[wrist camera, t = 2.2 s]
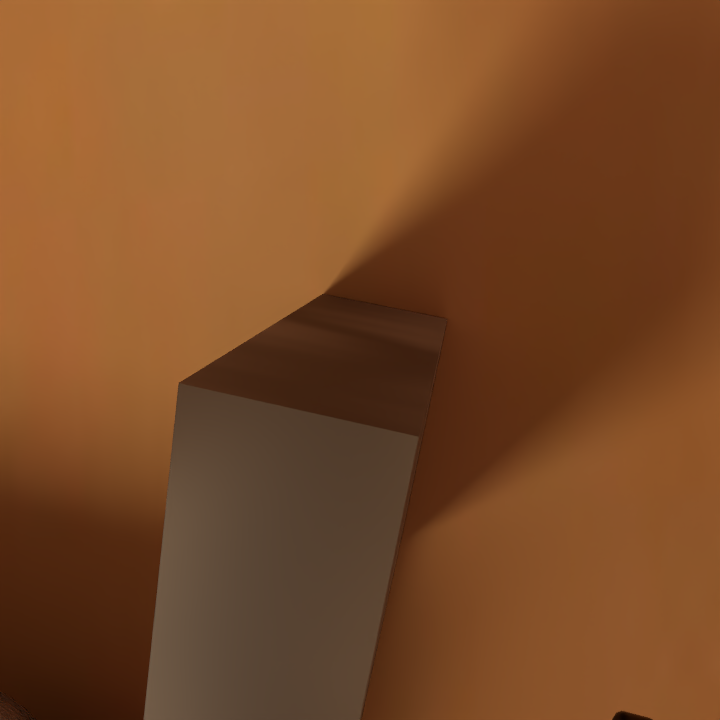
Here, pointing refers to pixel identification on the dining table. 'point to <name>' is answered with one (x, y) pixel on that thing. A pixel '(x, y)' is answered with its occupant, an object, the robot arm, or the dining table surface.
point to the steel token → (12, 709)
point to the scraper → (289, 514)
